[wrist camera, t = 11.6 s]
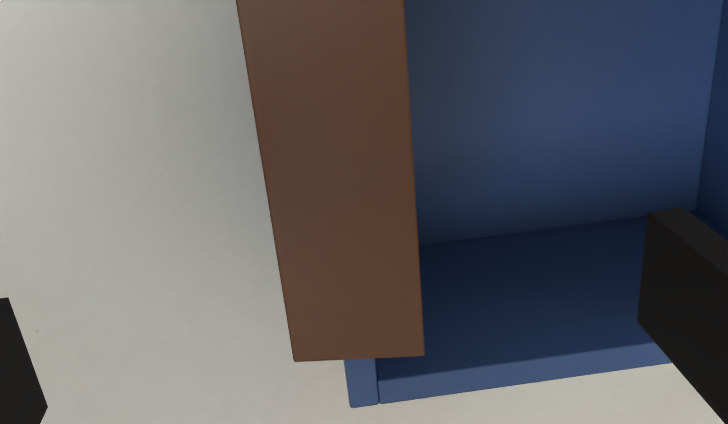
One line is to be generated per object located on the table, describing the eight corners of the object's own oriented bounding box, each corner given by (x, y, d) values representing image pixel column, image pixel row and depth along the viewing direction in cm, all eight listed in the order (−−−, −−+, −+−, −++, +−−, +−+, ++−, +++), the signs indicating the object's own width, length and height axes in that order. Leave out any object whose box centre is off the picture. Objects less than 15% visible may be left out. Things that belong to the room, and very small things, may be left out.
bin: (331, 267, 32) (350, 409, 23) (284, -114, 25) (285, -123, 16) (703, 219, 33) (860, 337, 24) (755, -158, 26) (1002, -190, 17)
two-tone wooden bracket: (315, 259, 27) (293, 362, 21) (277, -31, 22) (234, -3, 17) (418, 253, 27) (425, 356, 21) (400, -41, 22) (402, -17, 16)
